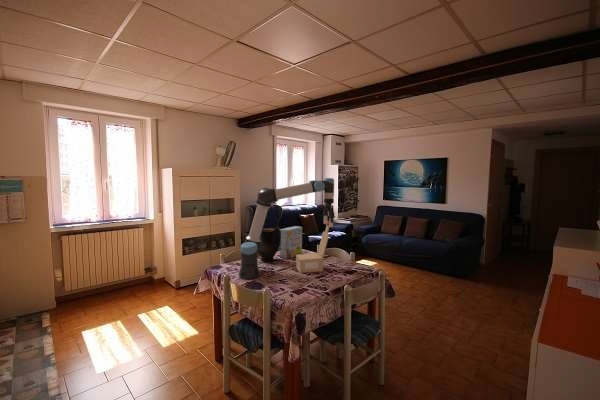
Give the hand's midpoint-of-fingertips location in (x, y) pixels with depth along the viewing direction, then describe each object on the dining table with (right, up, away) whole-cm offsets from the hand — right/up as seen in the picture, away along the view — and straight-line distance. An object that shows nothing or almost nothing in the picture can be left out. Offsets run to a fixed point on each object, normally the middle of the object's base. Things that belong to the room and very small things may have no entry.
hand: (328, 225), depth 222 cm
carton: (-15, -34, -1) cm, 37 cm away
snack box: (-30, -31, +35) cm, 55 cm away
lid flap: (-4, -10, 0) cm, 10 cm away
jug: (-49, -32, +20) cm, 62 cm away
